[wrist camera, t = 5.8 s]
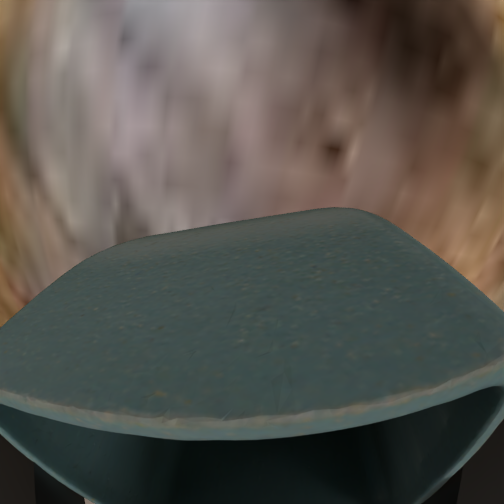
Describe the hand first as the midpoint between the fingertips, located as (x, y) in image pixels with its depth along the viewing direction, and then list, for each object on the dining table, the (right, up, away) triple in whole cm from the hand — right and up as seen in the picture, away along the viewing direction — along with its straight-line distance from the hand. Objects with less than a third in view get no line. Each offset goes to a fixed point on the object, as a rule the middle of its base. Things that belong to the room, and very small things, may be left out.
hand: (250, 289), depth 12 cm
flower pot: (0, 0, +1) cm, 1 cm away
